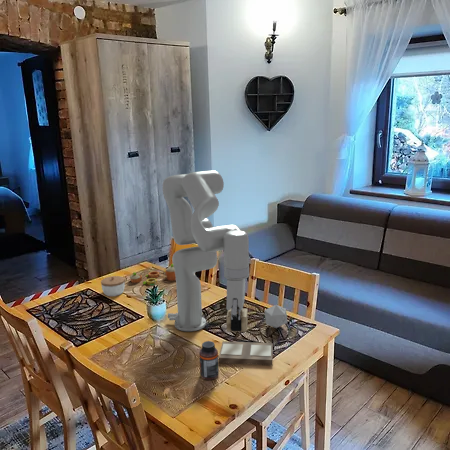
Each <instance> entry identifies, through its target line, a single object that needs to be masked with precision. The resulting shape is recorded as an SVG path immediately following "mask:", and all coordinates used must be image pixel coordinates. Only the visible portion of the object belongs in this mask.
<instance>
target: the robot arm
mask: <svg viewBox="0 0 450 450" xmlns="http://www.w3.org/2000/svg"><path fill="white" fill-rule="evenodd" d="M224 184H225V183H224V179H223V176H222V175H221V174H220V172H218V171H216V170H203V171H202V170H201V171H193V172H189V173H183V174H182V173H181V174H174V175H170V176H167V177H166V178H165V179H164V180H163V182H162V195H163V198H164V200H165V202H166V205H167V207H168V211H169V216H170V222H171V223H170V224H171V229H172V230H171V231H172V237H173V240H174V242H175V244H176V245H178V246H187V245H193V244H194V245H195V244H197V246H193V247H191V246H190V247H186V248H181V249H179V250H177V251H175V252H174V253H173V255H172V258H171V260H172V264H173V266H174V271H175V276H176V280H175V285H176V300H177V301H176V302H177V303H176V304H177V312H175V313H173V312H172V313H170V312H168V314H167V319H169V321H174V328H176V329H177V330H178V331H182V332H195V331H200V330H202V329H204V328H205V327H206V326H207V319H206V318H205V317H203V307H202V285H201V280H200V278H199V277H197V275H196V272H197V273H198V272H201V271H205V270H206V271H207V270H210V269H214V268H215V267H216V266H217V264H218V252H219V251H223V277H224V278H225V279H226V310H227V312H228V311H229V310H230V309H231V331H241V330H242V327H241V319H240V315H241V310H242V309H243V308H244V304H245V300H246V299H245V298H246V279H248V278H249V276H250V252H249V250H250V249H249V248H250V247H249V244H250V242H249V241H250V240H249V234H248V233H247V232H246V231H244V230H241V229H240V227H239V226H237V225H236V224H226V225H225V224H224V225H217V226H214V225H213V224H212V222H211V220H210V219H209V217H210V216H212V215H213V214H215V213H216V211H217V210H218V208H219V206H220V203H219V199H218V197H217V196H216V195H218V194H220V193H222V191H223V190H224ZM186 198H188V200H189V201H188V200H187V199H186ZM189 202H190V203H189ZM193 210H194V211H193ZM217 251H218V252H217ZM194 273H195V275H194ZM237 308H239V309H237ZM237 311H239V315H238V314H237Z"/></svg>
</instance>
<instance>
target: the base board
mask: <svg viewBox="0 0 450 450" xmlns="http://www.w3.org/2000/svg"><path fill="white" fill-rule="evenodd" d="M273 347H274V344H273V343H271V342H252V341H250V342H249V341H248V342H246V341H226V340H225V341H223V340H222V343H221V346H220V351H219V353H218V364H233V365H253V366H254V365H255V366H256V365H258V366H273V359H274V358H273V357H274V356H273V355H274V353H273V352H274V350H273V349H274V348H273Z"/></svg>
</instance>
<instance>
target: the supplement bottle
mask: <svg viewBox="0 0 450 450" xmlns="http://www.w3.org/2000/svg"><path fill="white" fill-rule="evenodd" d="M215 346H216V345H215V342H214V341H211V340H207V341H204V342H202V344H201V349H199V352H198V353H199V373H200V377H201V379H203V380H206V381H211V380H215V379H216V378H217V377H219V374H220V373H219V370H220V369H219V351H218V349H217V347H215Z"/></svg>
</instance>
